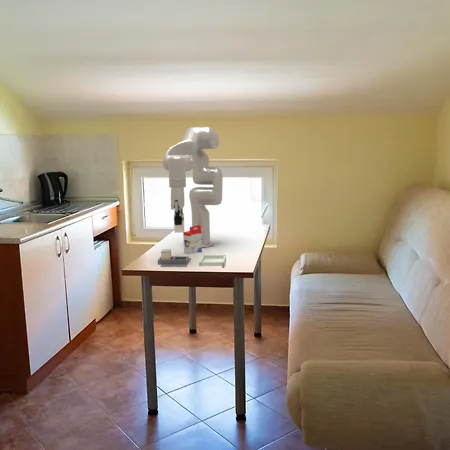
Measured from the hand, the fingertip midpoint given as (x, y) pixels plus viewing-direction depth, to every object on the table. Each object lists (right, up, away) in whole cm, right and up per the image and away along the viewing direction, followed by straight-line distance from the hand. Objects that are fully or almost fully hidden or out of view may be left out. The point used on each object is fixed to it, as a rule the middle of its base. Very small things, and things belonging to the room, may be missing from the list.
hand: (179, 223), depth 225 cm
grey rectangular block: (0, -4, +1) cm, 4 cm away
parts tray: (+15, -19, +3) cm, 24 cm away
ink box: (+5, -15, +24) cm, 29 cm away
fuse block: (-2, -19, +3) cm, 19 cm away
